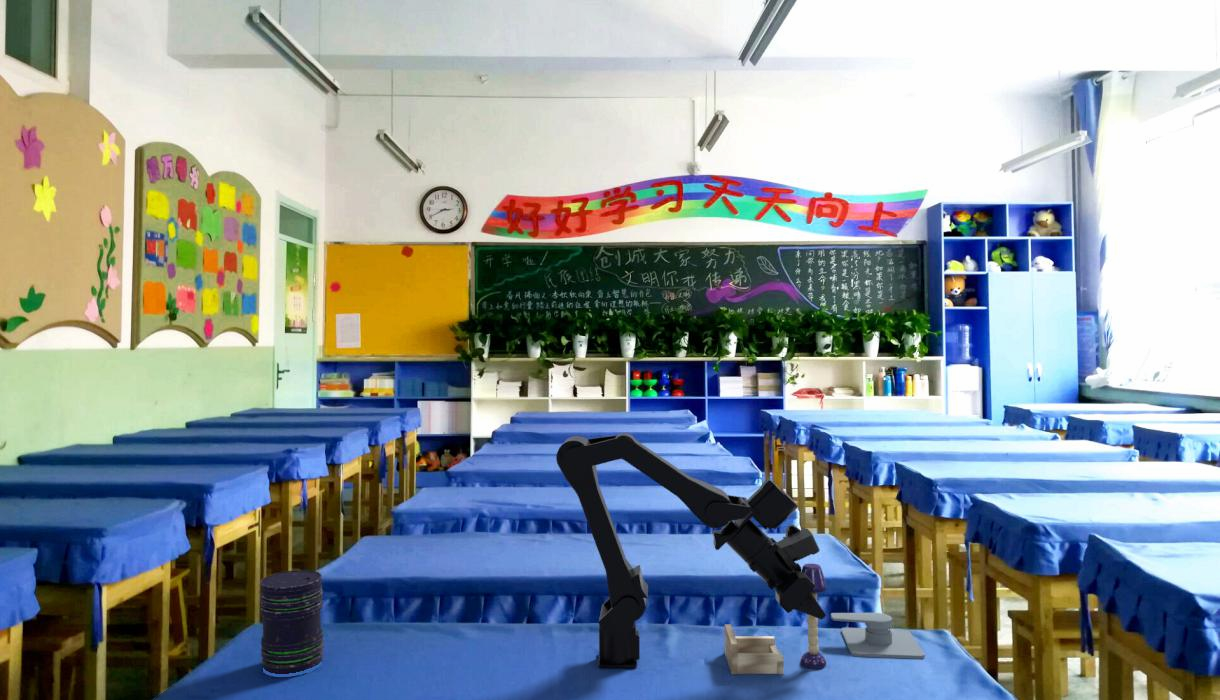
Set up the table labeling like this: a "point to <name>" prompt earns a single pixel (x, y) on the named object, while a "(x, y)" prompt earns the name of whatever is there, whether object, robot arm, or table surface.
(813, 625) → the toy lamp
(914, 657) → the shower valve
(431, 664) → the table surface
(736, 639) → the birch bracket
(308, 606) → the storage jar
